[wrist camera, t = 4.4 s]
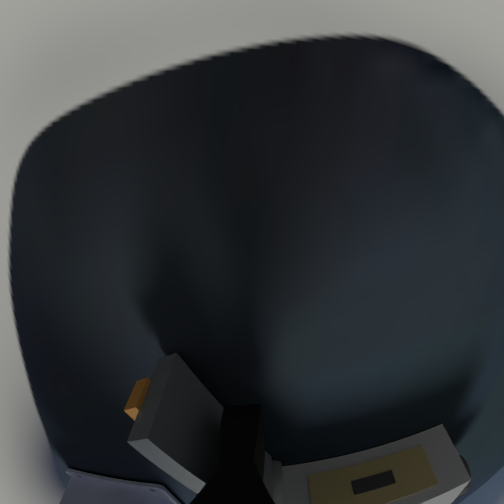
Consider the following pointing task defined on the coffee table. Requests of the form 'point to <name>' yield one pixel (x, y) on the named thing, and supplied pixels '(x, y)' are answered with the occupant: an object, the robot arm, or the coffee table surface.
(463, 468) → the camera case
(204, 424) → the side door
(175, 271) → the coffee table surface
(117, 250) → the coffee table surface
